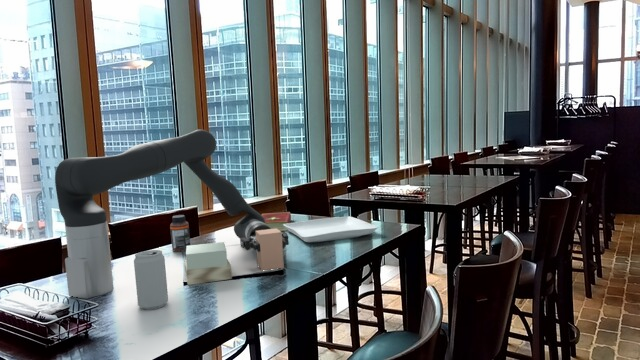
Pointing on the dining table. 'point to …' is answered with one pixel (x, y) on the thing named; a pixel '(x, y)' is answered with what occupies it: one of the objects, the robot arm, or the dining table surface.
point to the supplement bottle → (179, 233)
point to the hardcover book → (277, 220)
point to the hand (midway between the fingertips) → (271, 246)
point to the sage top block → (206, 255)
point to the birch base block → (208, 274)
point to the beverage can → (151, 279)
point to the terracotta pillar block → (270, 249)
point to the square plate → (330, 229)
